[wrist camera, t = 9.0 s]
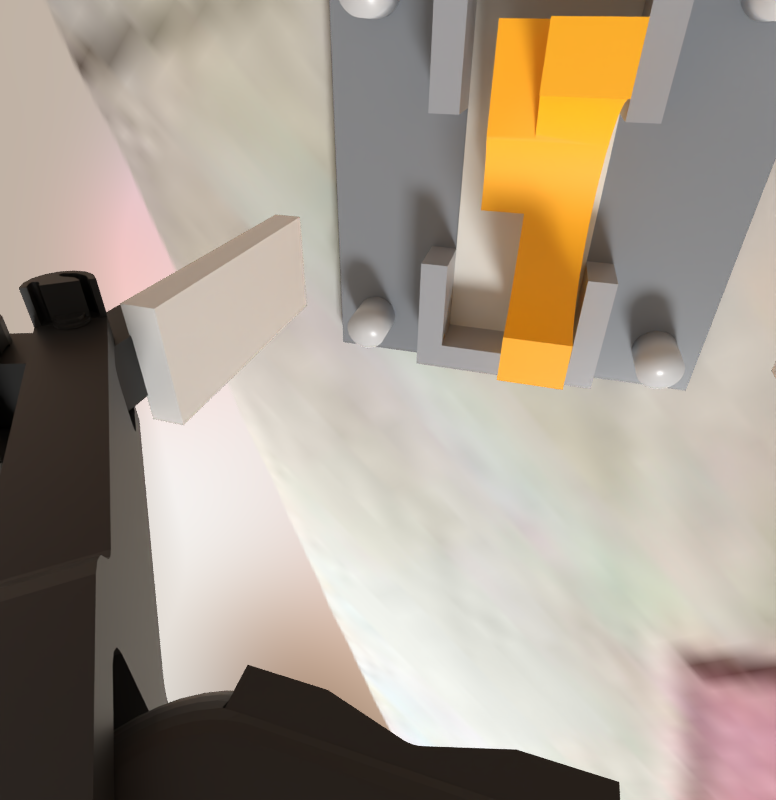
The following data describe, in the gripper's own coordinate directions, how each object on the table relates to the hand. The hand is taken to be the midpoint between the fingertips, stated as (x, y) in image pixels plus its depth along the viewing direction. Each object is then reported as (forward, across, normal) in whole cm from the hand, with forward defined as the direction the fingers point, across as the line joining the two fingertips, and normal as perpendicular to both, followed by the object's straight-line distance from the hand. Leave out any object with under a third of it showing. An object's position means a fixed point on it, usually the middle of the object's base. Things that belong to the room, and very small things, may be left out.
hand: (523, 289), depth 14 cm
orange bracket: (+12, 0, 0) cm, 12 cm away
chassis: (+12, +1, 0) cm, 12 cm away
